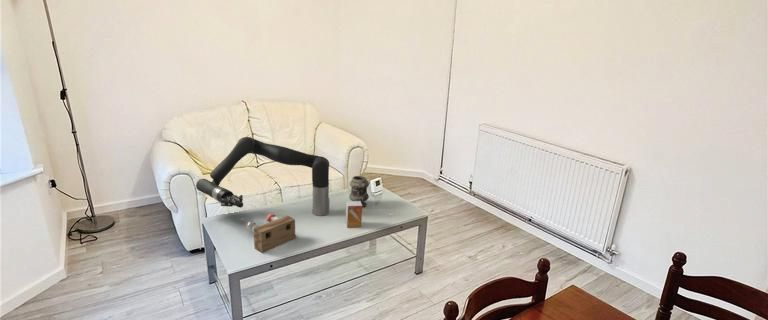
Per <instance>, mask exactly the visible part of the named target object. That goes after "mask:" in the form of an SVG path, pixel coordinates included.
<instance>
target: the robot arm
mask: <svg viewBox="0 0 768 320" xmlns="http://www.w3.org/2000/svg"><path fill="white" fill-rule="evenodd" d="M249 154H253V155H258V156H263V157H265V158H266V159H269V160H271V161H273V162H276V163H279V164H282V165H287V166H304V167H306V168H310V169H311V183H312V209H311V210H312V214H313V215H314V216H317V217H318V216H320V217H322V216H326V215H328V214H330V201H331V200H330V198H329V196H330V195H329V192H330V191H329V189H330V180H329V177H330V175H329V174H330V171H329V169H330V161H329V160H328V158H326V157H324V156H322V155H321V156H320V155H315V154H309V153H305V152H302V151H299V150H295V149H292V148H290V147H286V146H282V145H277V144H272V143H271V144H270V143H266V142H263V141H260V140H258V139H256V138H253V137H250V136H244V137H241V138H240V139H238V141H237V142H236V144H235V145H234V147H233V148H232V150H230V152H229V153H228V155H227V156H226V157H225V158H224V159H223V160H221V162H220V163H219V164H218V165H217V166H216V167H215V168H213V170H212V171H211V172H210V173H209V176H210V178H211V179H212V181H210V180H209V179H207V178H201V179H198V181H197V182H196V184H195V187H196V189H197V191H199V192H201V193H203V194H205V195H207V196H209V197H210V198H212V199H214V200H215V201H217V202H218V203H220V206H221V207H233V206H234V207H237V208H240V209H241V208H244V203H243V201H244V199H243V197H244V195H243V194H240V195H237V194H234V192H232V190H229V189H227V188H225V187H222V186H221V183H222V181H223V180H224V179H225V178H226V177H227V175H228V174H229V173H231V171H232V170H233V168H234V167H235V166H236V165H237V163H239V162H240V161H241V160H242V159H243V158H244V157H246V156H247V155H249Z"/></svg>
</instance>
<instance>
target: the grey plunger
mask: <svg viewBox="0 0 768 320" xmlns="http://www.w3.org/2000/svg"><path fill="white" fill-rule="evenodd" d="M258 226H259V225H258V224H257V223H256V222H254V221H253V220H249V221H248V222H246V226H245V227H246V229H247V230H249V231H251V232H254V228H256V227H258ZM266 235H267V233H266Z"/></svg>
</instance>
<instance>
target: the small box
mask: <svg viewBox="0 0 768 320" xmlns="http://www.w3.org/2000/svg"><path fill="white" fill-rule="evenodd" d="M362 219H363V208H362V204H361V201H352V200H350V201H346V203H345V225H346V228H361V227H362V221H363V220H362Z"/></svg>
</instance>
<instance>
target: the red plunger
mask: <svg viewBox="0 0 768 320" xmlns="http://www.w3.org/2000/svg"><path fill="white" fill-rule="evenodd" d="M277 219H279V217H277V216H276V215H275V214H273V213H269V214H268V215H267V216H266V221H267V223H269V222H271V221H274V220H277ZM286 227H287V225H286Z"/></svg>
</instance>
